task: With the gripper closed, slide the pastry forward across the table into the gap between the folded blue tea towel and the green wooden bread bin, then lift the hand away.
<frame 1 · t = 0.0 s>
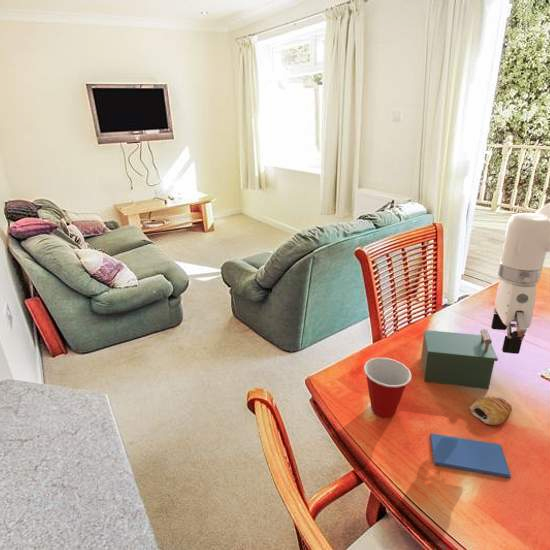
hand: (504, 340, 86), 17 cm above the table, tool pointing down, fingers open, 9 cm apart
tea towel: (467, 455, 79), on the table
bread bin: (452, 372, 103), on the table
bread bin lid: (459, 338, 99), point 11 cm above the table, hinge at 0.0°
pastry: (489, 414, 89), on the table
plastic cup: (384, 409, 92), on the table
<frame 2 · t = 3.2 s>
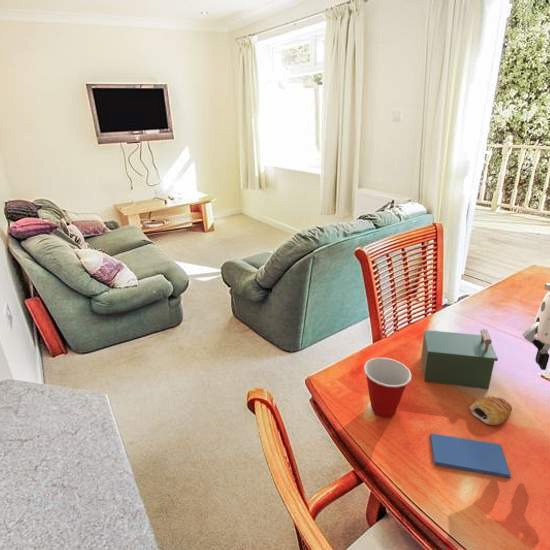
nothing on the table moved.
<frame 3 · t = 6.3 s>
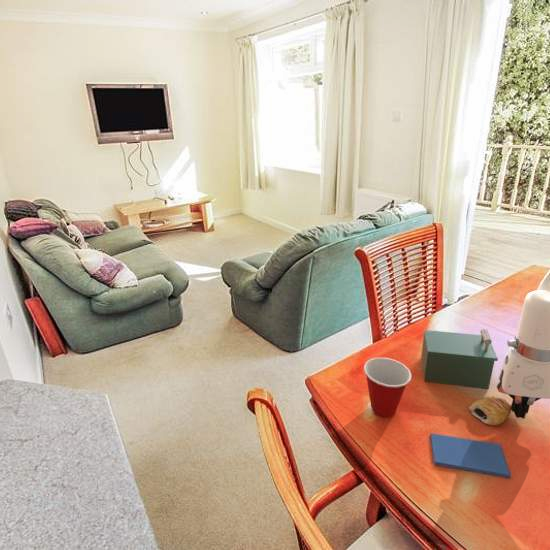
hand: (518, 413, 87), 1 cm above the table, tool pointing down, fingers closed
pastry: (489, 414, 89), on the table, touching gripper
everything else where it was.
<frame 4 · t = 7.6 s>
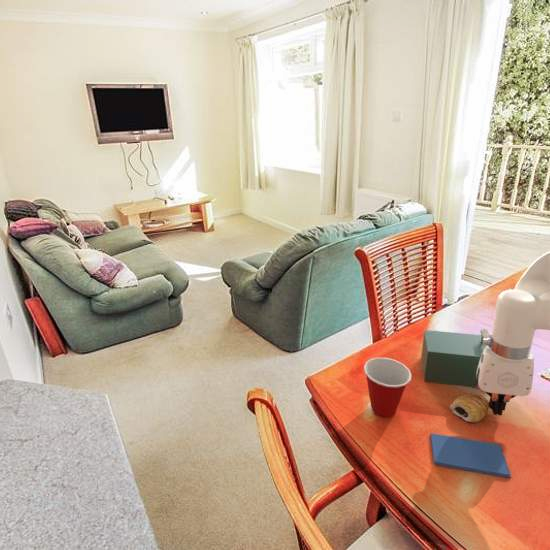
hand: (495, 410, 88), 1 cm above the table, tool pointing down, fingers closed
pastry: (469, 412, 90), on the table, touching gripper
everything else where it was.
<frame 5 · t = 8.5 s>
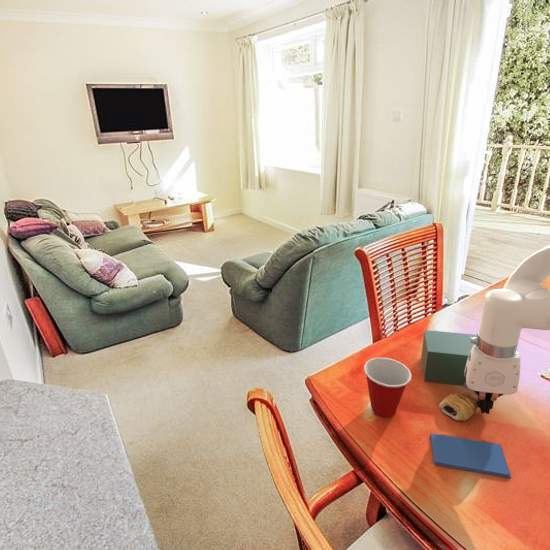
hand: (483, 409, 89), 1 cm above the table, tool pointing down, fingers closed
pastry: (457, 410, 91), on the table, touching gripper
everything else where it was.
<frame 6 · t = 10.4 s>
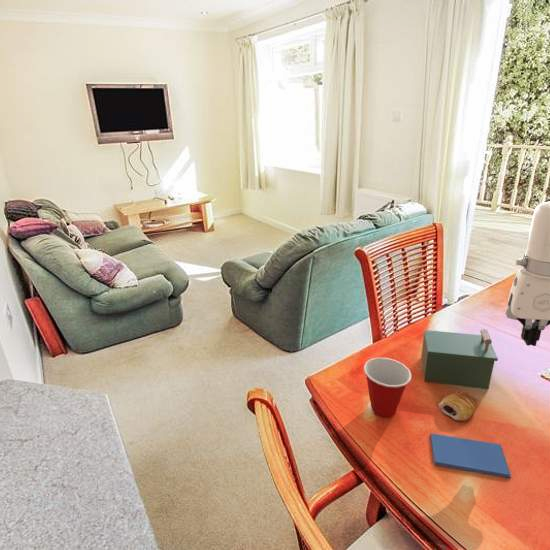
hand: (528, 342, 82), 19 cm above the table, tool pointing down, fingers closed
pastry: (457, 410, 91), on the table
everything else where it was.
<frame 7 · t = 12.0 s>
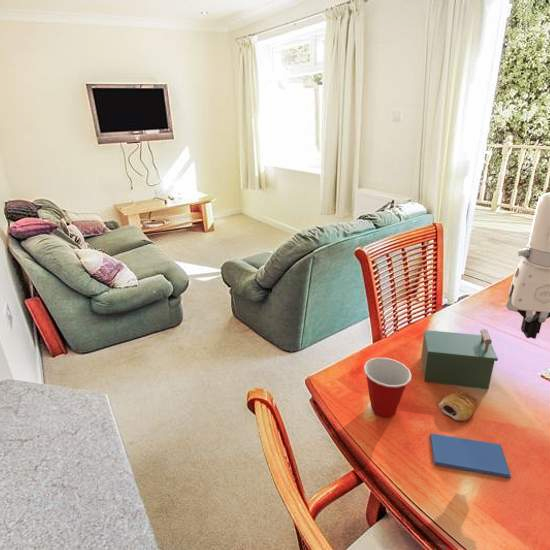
hand: (528, 334, 81), 21 cm above the table, tool pointing down, fingers closed
nothing on the table moved.
at the end: pastry inside the target area on the table beside the bread bin (1.3 cm from its centre), on the table; pastry touching table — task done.
